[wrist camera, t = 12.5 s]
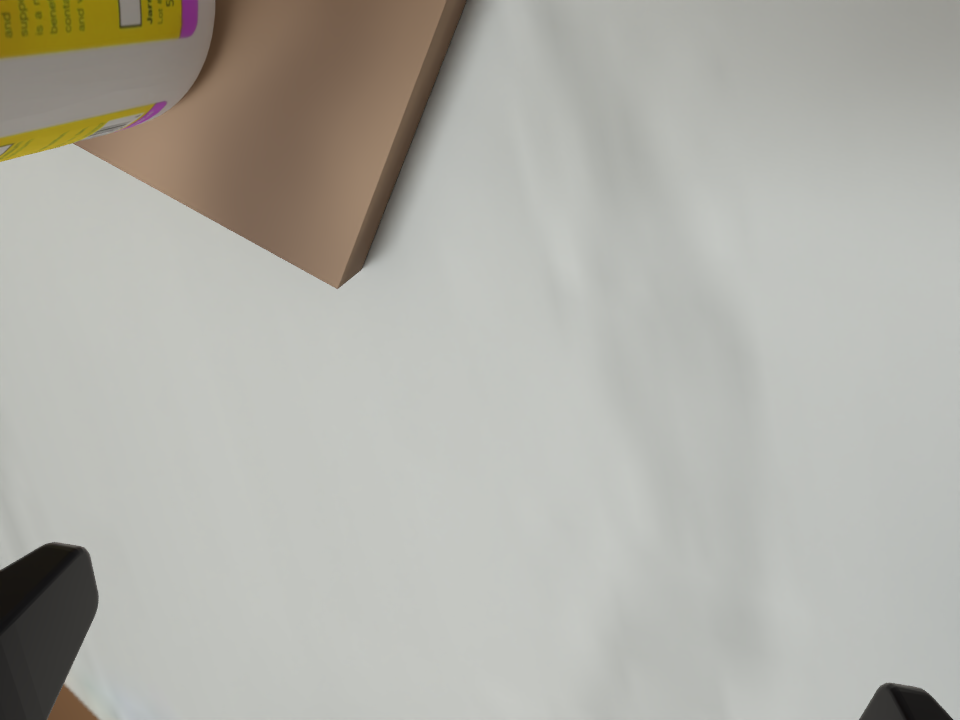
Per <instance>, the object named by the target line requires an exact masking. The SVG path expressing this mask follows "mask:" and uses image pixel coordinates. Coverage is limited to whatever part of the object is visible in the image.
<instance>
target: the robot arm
mask: <svg viewBox="0 0 960 720" xmlns="http://www.w3.org/2000/svg"><path fill="white" fill-rule="evenodd" d="M98 598H99V597H98V590H97V585H96V581H95V576H94V572H93V567H92V563H91V558H90V555H89V552H88V551H87V550H86V549H85V548H84V547H81V546H76V545H70V544H64V543H57V542H52V543H48V544H45V545H43V546H41V547H39V548H37V549H36V550H34V551H32V552H31V553H29V554H27V555H25V556H24V557H22V558H20V559H19V560H17V561H15V562H13V563H12V564H10V565H8V566H7V567H5V568H3V569H2V570H0V720H47V718H48V716H49V714H50V712H51V710H52V707H53V705H54V703H55V701H56V699H57V697H58V695H59V692H60V690H61V688H62V686H63V684H64V682H65V680H66V677H67V675H68V673H69V671H70V669H71V667H72V664H73V662H74V660H75V658H76V656H77V654H78V651H79V649H80V647H81V645H82V643H83V641H84V638H85V636H86V634H87V632H88V630H89V628H90V625H91V623H92V621H93V619H94V617H95V614H96V611H97V607H98ZM859 720H953V719H952V718H951V717H950V716H949V715H948V713H947V712H946V711H945V710H944V709H943V708H942V707H941V706H940V705H939V704H938V703H937V701H936V700H935V699H934V698H933V697H932V696H931V695H930V694H929V693H927V692H926V691H925V690H923V689H921V688H917V687H913V686H907V685H901V684H895V683H885V684H883V685H881V686H880V687H879V688H878V690H877V691H876V693H875V694H874V696H873V698H872V699H871V701H870V703H869V704H868V706H867V708H866V709H865V711H864V713H863V714H862V716H861V718H860V719H859Z"/></svg>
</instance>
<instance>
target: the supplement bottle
mask: <svg viewBox="0 0 960 720" xmlns="http://www.w3.org/2000/svg"><path fill="white" fill-rule="evenodd" d="M214 19H215V0H0V162H2V161H5V160H9V159H13V158H17V157H21V156H24V155H29V154H33V153H37V152H41V151H45V150H49V149H53V148H57V147H60V146H64V145H67V144H71V143H75V142H78V141H81V140H86V139H90V138H94V137H98V136H102V135H107V134H110V133H113V132H117V131H120V130H123V129H127V128H130V127H133V126H136V125H139V124H142V123H145V122H147V121H150V120H152V119H154V118H156V117H158V116H160V115H162V114H163V113H165V112H166V111H168V110H169V109H171V108H172V107H173V106H174V105H175V104H176V103H177V102H179V101H180V100H181V98H182V97H183V96H184V95H185V94H186V93H187V92H188V90H189V89H190V88H191V87H192V85H193V84H194V82H195V80H196V79H197V77H198V75H199V73H200V71H201V69H202V67H203V64H204V62H205V60H206V57H207V54H208V50H209V47H210V43H211V39H212V34H213V27H214Z"/></svg>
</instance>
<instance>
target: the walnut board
mask: <svg viewBox="0 0 960 720" xmlns="http://www.w3.org/2000/svg"><path fill="white" fill-rule="evenodd" d="M466 1H467V0H215V19H214V27H213V34H212V39H211V43H210V47H209V50H208V54H207V57H206V60H205V62H204V64H203V67H202V69H201V71H200V73H199V75H198V77H197V79H196V80H195V82H194V84H193V85H192V87H191V88H190V89H189V90H188V92H187V93H186V94H185V95H184V96H183V97H182V98H181V100H180V101H179V102H177V103H176V104H175V105H174V106H173V107H172V108H171V109H169V110H168V111H166V112H165V113H163V114H162V115H160V116H158V117H156V118H154V119H152V120H150V121H147V122H145V123H142V124H139V125H136V126H133V127H130V128H127V129H123V130H120V131H117V132H113V133H110V134H107V135H102V136H98V137H94V138H90V139H86V140H81V141H78V142H75V143H73V144H75V145H77V146H79V147H81V148H83V149H84V150H86V151H88V152H90V153H92V154H93V155H95V156H97V157H99V158H101V159H102V160H104V161H106V162H108V163H110V164H112V165H113V166H115V167H117V168H119V169H121V170H122V171H124V172H126V173H128V174H130V175H131V176H133V177H135V178H137V179H139V180H141V181H142V182H144V183H146V184H148V185H150V186H151V187H153V188H155V189H157V190H159V191H161V192H162V193H164V194H166V195H168V196H170V197H171V198H173V199H175V200H177V201H179V202H180V203H182V204H184V205H186V206H188V207H190V208H191V209H193V210H195V211H197V212H199V213H200V214H202V215H204V216H206V217H208V218H209V219H211V220H213V221H215V222H217V223H219V224H220V225H222V226H224V227H226V228H228V229H229V230H231V231H233V232H235V233H237V234H239V235H240V236H242V237H244V238H246V239H248V240H249V241H251V242H253V243H255V244H257V245H258V246H260V247H262V248H264V249H266V250H268V251H269V252H271V253H273V254H275V255H277V256H278V257H280V258H282V259H284V260H286V261H288V262H289V263H291V264H293V265H295V266H297V267H298V268H300V269H302V270H304V271H306V272H307V273H309V274H311V275H313V276H315V277H317V278H318V279H320V280H322V281H324V282H326V283H327V284H329V285H331V286H333V287H335V288H336V289H338V288H339V287H341V286H342V285H343V284H344V283H346V282H347V281H348V280H349V279H351V278H352V277H353V276H354V275H355V274H357V273H358V272H359V271H360V270H361V269H362V267H363V264H364V262H365V259H366V257H367V254H368V251H369V249H370V246H371V244H372V241H373V239H374V236H375V234H376V231H377V228H378V226H379V223H380V221H381V218H382V216H383V213H384V211H385V208H386V205H387V203H388V200H389V198H390V195H391V193H392V190H393V188H394V185H395V182H396V180H397V177H398V175H399V172H400V170H401V167H402V165H403V162H404V159H405V157H406V154H407V152H408V149H409V147H410V144H411V142H412V139H413V136H414V134H415V131H416V129H417V126H418V124H419V121H420V119H421V116H422V113H423V111H424V108H425V106H426V103H427V101H428V98H429V96H430V93H431V90H432V88H433V85H434V83H435V80H436V78H437V75H438V73H439V70H440V67H441V65H442V62H443V60H444V57H445V55H446V52H447V50H448V47H449V44H450V42H451V39H452V37H453V34H454V32H455V29H456V27H457V24H458V21H459V19H460V16H461V14H462V11H463V9H464V6H465V4H466Z"/></svg>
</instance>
